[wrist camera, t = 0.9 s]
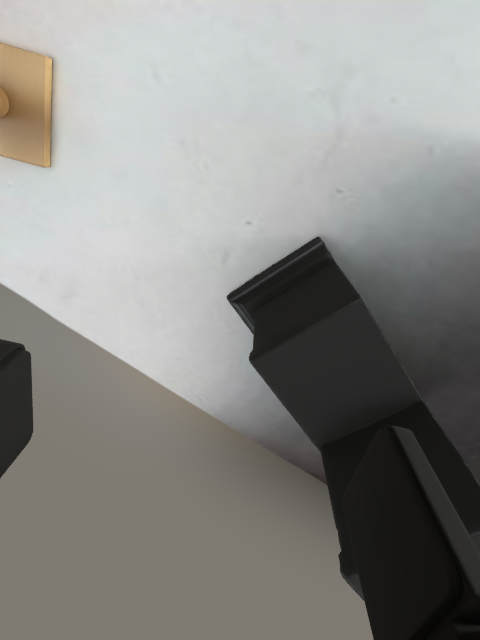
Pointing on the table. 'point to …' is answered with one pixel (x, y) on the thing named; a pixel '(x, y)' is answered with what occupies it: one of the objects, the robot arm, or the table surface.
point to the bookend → (341, 379)
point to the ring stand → (25, 105)
